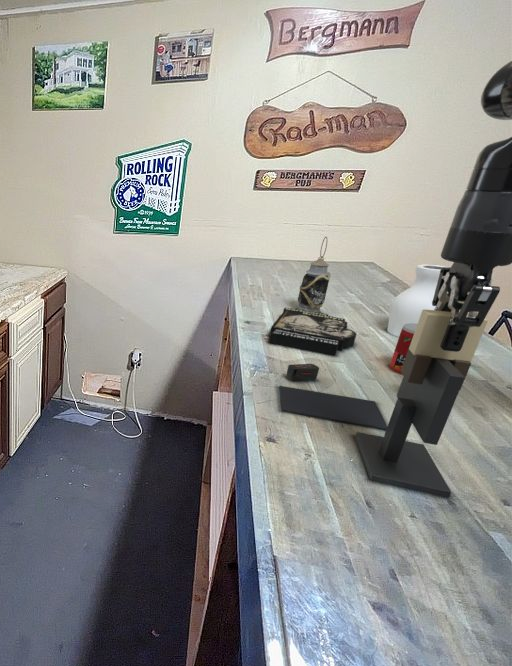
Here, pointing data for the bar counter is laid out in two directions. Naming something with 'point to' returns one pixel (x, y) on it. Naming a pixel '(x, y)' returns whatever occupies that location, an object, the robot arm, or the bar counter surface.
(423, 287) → the vase
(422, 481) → the monitor
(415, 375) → the small wooden bench
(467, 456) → the bar counter surface
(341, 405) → the mat
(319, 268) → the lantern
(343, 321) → the decorative sign
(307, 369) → the wireless earbuds
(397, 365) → the canned food
